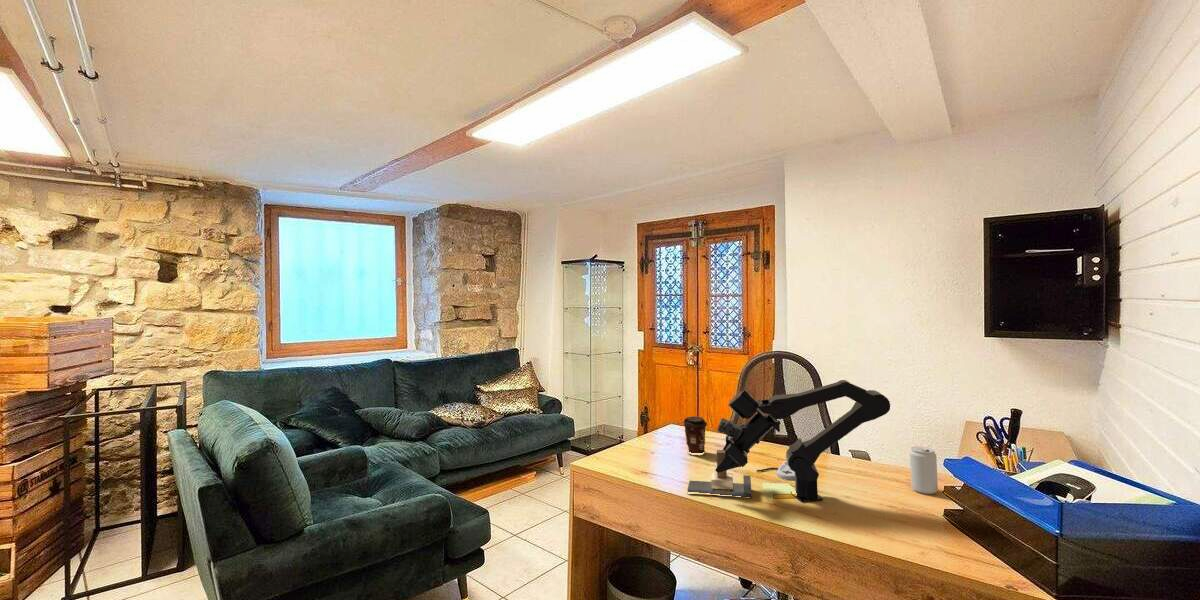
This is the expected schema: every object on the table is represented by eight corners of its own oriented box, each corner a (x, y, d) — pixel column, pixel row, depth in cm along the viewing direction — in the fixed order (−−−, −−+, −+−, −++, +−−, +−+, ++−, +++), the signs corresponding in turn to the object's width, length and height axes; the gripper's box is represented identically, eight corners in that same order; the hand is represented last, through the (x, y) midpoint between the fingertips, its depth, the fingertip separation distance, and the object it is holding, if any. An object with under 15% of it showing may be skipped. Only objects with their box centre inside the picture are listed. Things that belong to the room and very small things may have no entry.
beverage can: (925, 496, 138) (924, 453, 138) (905, 488, 144) (904, 447, 144) (943, 493, 139) (941, 450, 139) (923, 485, 146) (921, 444, 146)
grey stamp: (733, 481, 149) (731, 448, 149) (732, 489, 143) (731, 455, 143) (712, 480, 150) (711, 447, 150) (711, 488, 145) (710, 454, 145)
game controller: (796, 482, 153) (796, 476, 153) (754, 476, 159) (754, 470, 159) (805, 467, 165) (805, 462, 165) (765, 462, 172) (765, 456, 172)
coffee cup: (679, 454, 183) (678, 418, 183) (692, 448, 189) (691, 414, 189) (699, 458, 177) (698, 422, 177) (712, 453, 183) (710, 417, 183)
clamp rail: (750, 489, 148) (750, 475, 148) (751, 498, 141) (751, 484, 141) (689, 485, 153) (689, 472, 153) (687, 494, 146) (687, 480, 146)
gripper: (733, 403, 155) (698, 437, 158) (733, 417, 137) (694, 456, 140) (760, 429, 153) (725, 463, 155) (764, 447, 135) (724, 485, 137)
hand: (717, 466), depth 147 cm, fingers open, 9 cm apart
